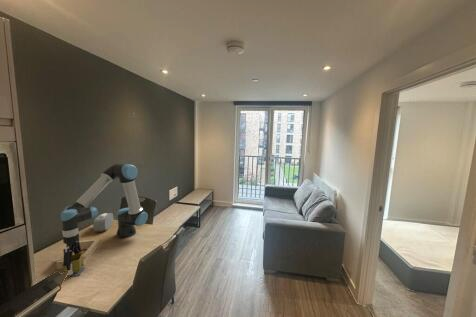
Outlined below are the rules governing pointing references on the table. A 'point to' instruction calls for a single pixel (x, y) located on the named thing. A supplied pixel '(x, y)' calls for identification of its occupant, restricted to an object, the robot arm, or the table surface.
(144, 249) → the table surface
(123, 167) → the robot arm
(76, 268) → the flower pot
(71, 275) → the mat
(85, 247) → the wooden tray
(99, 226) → the alarm clock
